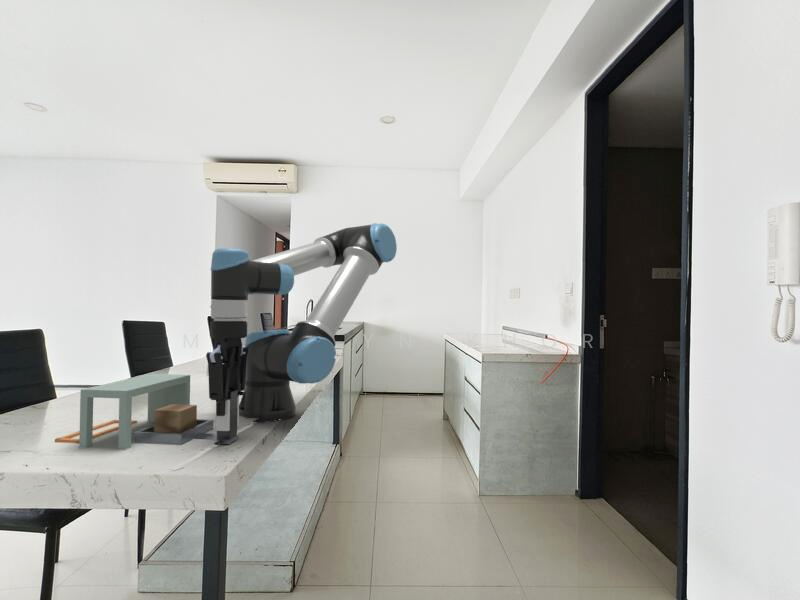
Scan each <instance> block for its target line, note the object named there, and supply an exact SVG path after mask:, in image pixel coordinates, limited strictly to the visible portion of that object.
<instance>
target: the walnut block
mask: <svg viewBox="0 0 800 600" xmlns="http://www.w3.org/2000/svg"><path fill="white" fill-rule="evenodd" d="M197 406H198V405H197V404H190V405H182V404H171V405H168V406H165V407H162V408H159V409H157V410H154V422H153V425H154V432H160V433H182V432H184V431H186V430H189V429H191V428H193V427H195V426H197V419H198V418H197V417H198V416H197V415H198V412H197V411H198V407H197Z"/></svg>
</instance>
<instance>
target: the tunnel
mask: <svg viewBox="0 0 800 600" xmlns="http://www.w3.org/2000/svg"><path fill="white" fill-rule="evenodd" d="M145 394H147V423H154V410H157V409H159V408H162V407H165V406H168V405H171V404H182V405H191V374H171V373H170V374H168V373H165V374H164V373H152V374H151V373H150V374H145V375H142V376H141V375H140V376H136V377H133V378H127V379H122V380H119V381H113V382H108V383H103V384H100V385H96V386H90V387H86V388H82V389H80V397H79V402H80V403H79V404H80V405H79V431H80V435H79V438H78V439H79V443H78V447H79V449H80V448H84V449H87V448H89V447H90V448H91V447H92V446H93V439H92V435H93V432H94V430H93V427H94V398H99V399H102V398H103V399H118V402H119V403H118V420H119V423H118V426H119V430H118V435H117V436H118V439H117V441H118V443H117V449H118V451H120V450H121V451H122V450H123V451H126V450H128V449H130V448H131V447H132V425H131V420H132V414H133V413H132V410H133V409H132V406H133V405H132V404H133V398H134V397H137V396H141V395H145Z"/></svg>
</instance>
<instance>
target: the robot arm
mask: <svg viewBox="0 0 800 600" xmlns="http://www.w3.org/2000/svg"><path fill="white" fill-rule="evenodd" d="M397 247H398V246H397V240H396V235H395V234H394V232H393V231H392V229H391V228H390V227H389V226H388V225H387V224H385V223H377V222H375V223H371V224H368V225H367V224H366V225H360V226H352V227H346V228H342V229H340V230H339V229H338V230H336V231H335V232H332V233H329V234H326V235H324V236H320V237H318V238H316V239H315V240H314V241H313V242H310V243H308V244H304V245H300V246H297V247H294V248H291V249H287V250H283V251H280V252H277V253H273V254H269V255H267V256H263V257H259V258H256V259H253V260H250V257H249V256H250V255H249V252H248V251H247V250H245V249H240V248H231V247H230V248H229V247H227V248H226V247H225V248H216V249H215V250H214V251H213V252H212V255H211V262H210V263H211V265H210V271H211V273H210V276H211V277H210V278H211V279H210V281H211V282H210V283H211V284H210V287H211V288H210V296H211V298H210V300H211V301H210V318H211V319H213V320H211V322H210V323H209V324H210V326H209V327H210V328H209V330H210V333H209V336H210V338H211V339H215V344H214V350H212V351H211V352H209V351H208V352H206V355H205V357H206V360H207V364H208V365H207V367H208V370H207V372H208V398H209V400H211V401H215V402H216V404H215V431H216V432H217V431H229V430H230V400H227V399H228V390H238V411H237V427H238V426H239V425H240V422H239V418H240V417H243V418H247V419H255V420H253V421H252V422H253V423H266V422H265V421H270V422H275V421H274V420H278V421H280V420H279V419H283V420H287V419H290V418H292V417H294V416H295V415H296V411H297V408H296V407H297V406H296V401H295V400H294V397H293V393H292V390H291V386H290V382H295V383H298V384H300V385H301V384H302V385H303V384H305V385H306V384H317V383H320V382H322V381H324V380H325V379H326V378H327V377H328V376H329V375H330V374H331V372H332V371H333V369H334V367H335V363H336V361H337V360H336V358H335V356H336V355H337V351H336V348H335V347H336V344H337V343H336V340H335V339H336V338H335V335H336V334H337V332H338V330H339V329H340V327H341V326H342V324H343V322H344V320H345V318H346V317H347V314H348V313H349V311H350V309H352V306H353V305H354V302H355V301H356V299H357V297H358V296H359V295H360V292H361V290H362V289H363V287H364V285H365V284H366V282H367V280H368V279H369V277H370V276H372V275H375V274H377V273H378V271H379V270H380V268H381V266H382V265H383V263H389V262H391V261H393V260H394V259H395V257H396V256H397V255H396V254H397ZM333 266H339V268H338V269H337V271H336V272H335V274H334V276H333V277H332V279H331V281H330V282H329V284H328V285H327V287H326V288H325V290H324V291H323V293H322V295H321V296H320V298H319V299H318V301H317V302H316V304H315V306H314V307H313V309H312V310H311V312H310V313H309V314H308V316H307V317H306V319H305V320H302V321H299V322H297V323H296V324H295V326H294V328H293V329H292V331H290V330H289V329H269V330H258V331H253V332H249V333H248V322H247V320H246V319H247V318H249V316H248V315H249V314H248V313H249V309H248V306H249V305H248V304H249V303H248V302H249V301H248V300H249V299H248V298H249V295H273V296H279V295H287V294H289V293H290V292H291V291H292V289H293V287H294V284H295V276H299V275H301V274H303V273H306V272H310V271H312V270H314V269H318V268H321V267H323V268H325V269H326V268H327V269H328V268H331V267H333ZM242 339H245V346H243V342H242ZM240 396H241V399H240ZM239 416H240V417H239Z"/></svg>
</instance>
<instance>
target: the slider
mask: <svg viewBox="0 0 800 600" xmlns="http://www.w3.org/2000/svg"><path fill="white" fill-rule="evenodd" d="M227 400H230V430H229V431H216V433H208V432H210V431H212V430H214V429H215V428H214V419H205V418H203V419H201V418H200V419H199V418H197V426H195V427H193V428H191V429H189V430H186V431H184V432H182V433H160V432H154V424H152V425H150V426H147V427H144V428H141V429H140V430H136V431H134V432H133V443H136V444H137V443H138V444H158V445H159V444H161V445H162V444H163V445H180V446H183V445H184V444H186V443H188V442H191V441H193V440H207V441H209V440H210V441H216V442H214V444H215V445H216V444H218V445H221V444H222V445H230V444H233V442H235V441H237V440H238V439H239V434H238V426H237V411H238V390H228V399H227Z"/></svg>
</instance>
